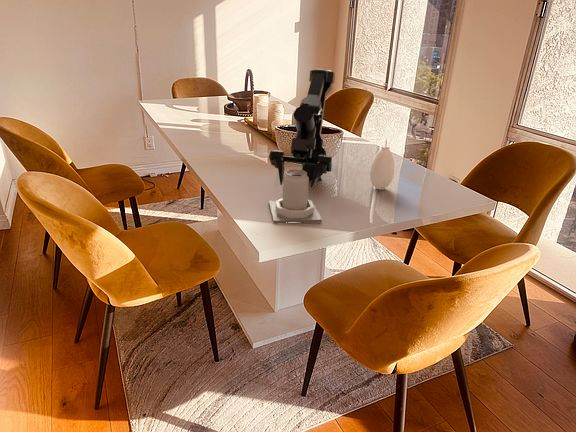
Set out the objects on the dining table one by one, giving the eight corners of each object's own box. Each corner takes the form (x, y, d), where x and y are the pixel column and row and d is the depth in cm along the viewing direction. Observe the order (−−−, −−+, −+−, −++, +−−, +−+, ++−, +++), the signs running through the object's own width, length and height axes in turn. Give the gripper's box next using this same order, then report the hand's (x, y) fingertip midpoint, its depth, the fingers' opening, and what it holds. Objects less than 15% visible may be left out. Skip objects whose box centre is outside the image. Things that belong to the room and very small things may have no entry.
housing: (312, 203, 142) (313, 194, 141) (321, 222, 130) (322, 213, 129) (268, 203, 140) (269, 195, 139) (273, 223, 128) (274, 214, 127)
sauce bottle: (381, 183, 161) (388, 134, 153) (395, 191, 155) (403, 140, 147) (363, 186, 157) (370, 136, 150) (377, 194, 151) (385, 143, 143)
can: (281, 214, 132) (283, 176, 126) (282, 203, 138) (283, 167, 133) (307, 215, 132) (309, 177, 126) (306, 205, 138) (309, 168, 133)
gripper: (271, 123, 131) (260, 171, 126) (334, 129, 128) (326, 178, 123) (276, 142, 142) (267, 186, 137) (335, 147, 138) (327, 194, 134)
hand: (296, 186), depth 132 cm, fingers open, 9 cm apart
